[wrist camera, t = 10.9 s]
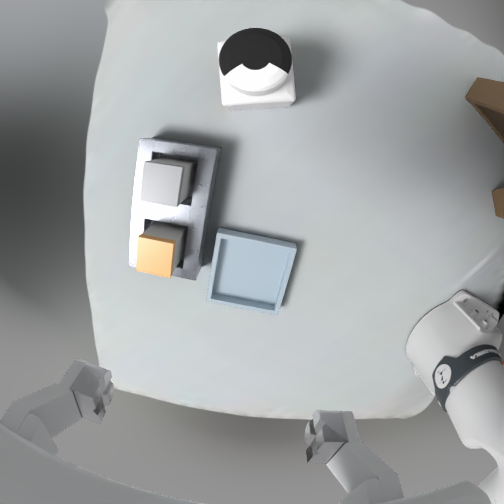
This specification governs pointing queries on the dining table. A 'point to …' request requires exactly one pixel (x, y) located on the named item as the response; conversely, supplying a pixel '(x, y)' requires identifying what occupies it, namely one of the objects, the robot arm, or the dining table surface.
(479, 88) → the photo frame
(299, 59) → the dining table surface
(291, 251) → the tray
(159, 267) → the plug
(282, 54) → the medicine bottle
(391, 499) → the robot arm
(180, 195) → the grey rectangular block
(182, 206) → the square-holed metal block
